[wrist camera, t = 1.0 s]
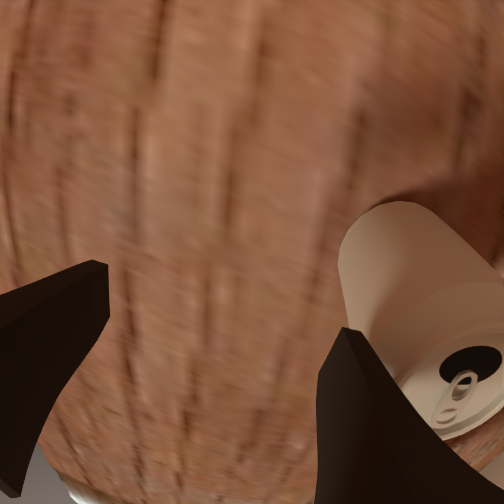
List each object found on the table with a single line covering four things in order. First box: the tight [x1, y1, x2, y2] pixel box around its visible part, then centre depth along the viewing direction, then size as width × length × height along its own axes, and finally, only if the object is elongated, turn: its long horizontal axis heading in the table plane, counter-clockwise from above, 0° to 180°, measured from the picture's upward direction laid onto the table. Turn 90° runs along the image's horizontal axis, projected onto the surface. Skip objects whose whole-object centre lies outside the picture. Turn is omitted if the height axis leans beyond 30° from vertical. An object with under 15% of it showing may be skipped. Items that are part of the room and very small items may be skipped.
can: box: [337, 201, 504, 441], centre depth 14 cm, size 8×8×12 cm
